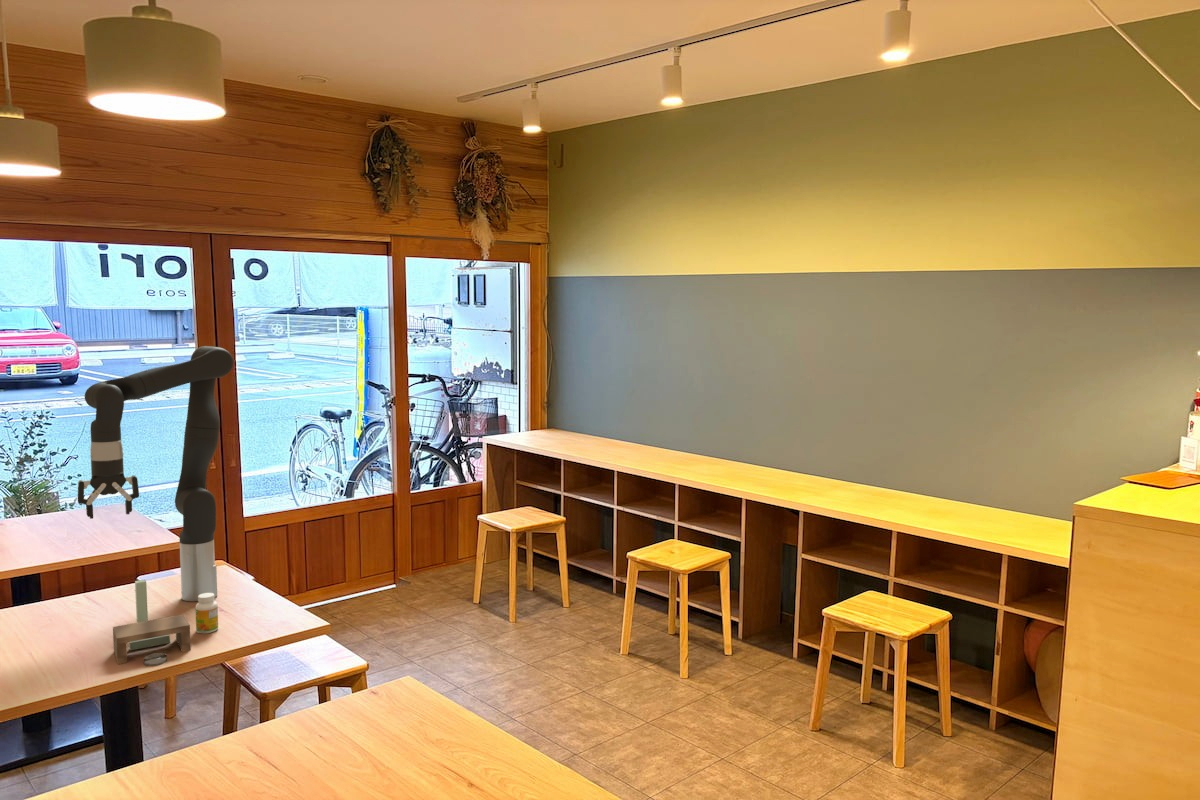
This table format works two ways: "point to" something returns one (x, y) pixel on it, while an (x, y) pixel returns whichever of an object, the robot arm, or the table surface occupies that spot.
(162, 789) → the table surface
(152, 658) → the token
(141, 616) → the rake
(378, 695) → the table surface
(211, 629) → the supplement bottle
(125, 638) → the wooden arch
